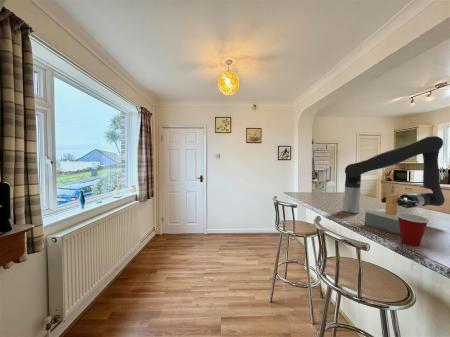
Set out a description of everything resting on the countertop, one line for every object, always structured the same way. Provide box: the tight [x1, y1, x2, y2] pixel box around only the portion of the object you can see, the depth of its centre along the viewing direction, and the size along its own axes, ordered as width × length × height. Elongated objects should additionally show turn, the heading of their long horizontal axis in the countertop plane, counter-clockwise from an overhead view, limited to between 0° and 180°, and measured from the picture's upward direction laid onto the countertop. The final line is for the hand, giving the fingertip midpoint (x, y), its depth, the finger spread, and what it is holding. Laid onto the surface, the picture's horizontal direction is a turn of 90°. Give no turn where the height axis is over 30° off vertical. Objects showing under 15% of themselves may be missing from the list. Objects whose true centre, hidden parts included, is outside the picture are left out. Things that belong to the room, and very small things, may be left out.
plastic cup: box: [397, 212, 430, 247], centre depth 94 cm, size 11×11×12 cm
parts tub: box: [364, 212, 401, 236], centre depth 115 cm, size 18×14×7 cm
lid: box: [365, 193, 400, 221], centre depth 115 cm, size 18×14×12 cm
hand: (390, 202), depth 115 cm, fingers open, 8 cm apart
